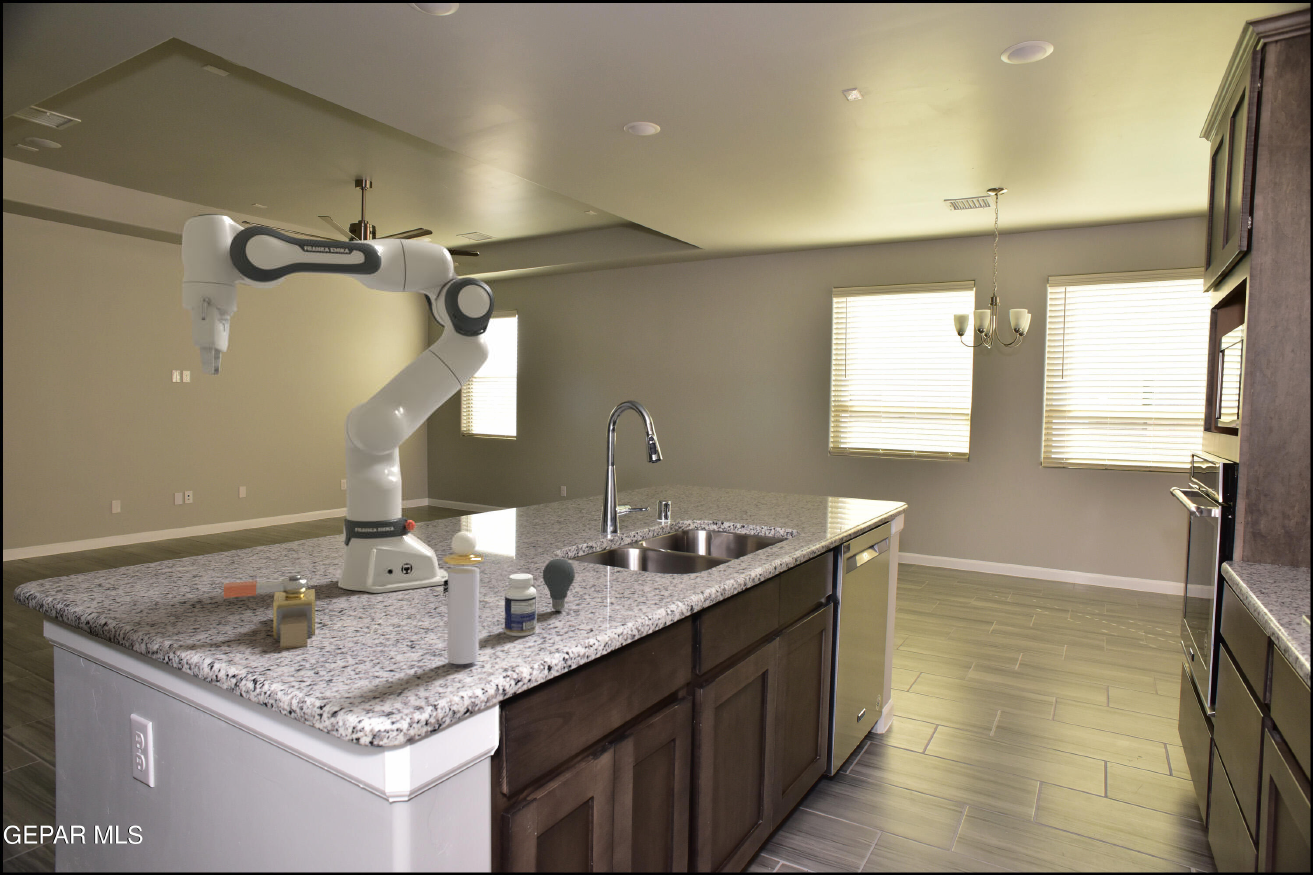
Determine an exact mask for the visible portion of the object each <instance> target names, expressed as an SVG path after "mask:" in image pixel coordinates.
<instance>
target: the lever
mask: <svg viewBox="0 0 1313 875" xmlns="http://www.w3.org/2000/svg"><path fill="white" fill-rule="evenodd" d="M308 581H309V579H308V577H306V576H305V577H304V576H301V575H300V574H293V575H292V574H291V575H289V576H288V577H287V578H283V579H281V580H277V581H265V582H258V580H250V581H236V582H225V583H224V586H223V598H224V599H226V598H238V597H251V596H252V597H253V596H257V594H259V593H260V594H261V593H275V592H283V593H299V592H304V591H306V590H308V589H309V585H308V584H309V582H308Z"/></svg>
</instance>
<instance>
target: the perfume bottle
mask: <svg viewBox="0 0 1313 875" xmlns="http://www.w3.org/2000/svg"><path fill="white" fill-rule="evenodd" d="M450 545H451V549H452V551H453V554H452V553H451V554H448V555H445V556H443V563H445V564H448V565H452V566H455V565H457V566H459V567H453V568H450V569H448V570H447V573H448V579H447V580H445V581H444V583H443V584H442V586H443V594H442V595H443V598H442V599H443V601H444V598H447V620H446V621H447V626H446V628H447V635H446V636H447V638H446V640H447V644H446V645H447V646H446V647H447V649H446V651H447V653H446V654H447V657H446V658H447V662H448V663H450V664H455V665H464V664H471V663H473V662H474V663H475V662H476V661H478V659H479V654H480V653H479V646H480V645H479V641H480V638H479V635H480V634H479V633H480V632H479V628H480V625H479V624H480V623H479V622H480V619H479V618H480V600H479V599H480V569H479V568H477V567H473V566H466V565H476V564H479V563H482V562H484V555H483V554H479V553H474V552H475V550H476V547H477V539H476V537H475V536H474V535H473V533H471V532H470V531H467V530H466V531H459V532H457V533H456V534H455V535H453V537H452V539H451V544H450ZM446 593H447V594H446ZM446 595H447V596H446Z"/></svg>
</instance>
